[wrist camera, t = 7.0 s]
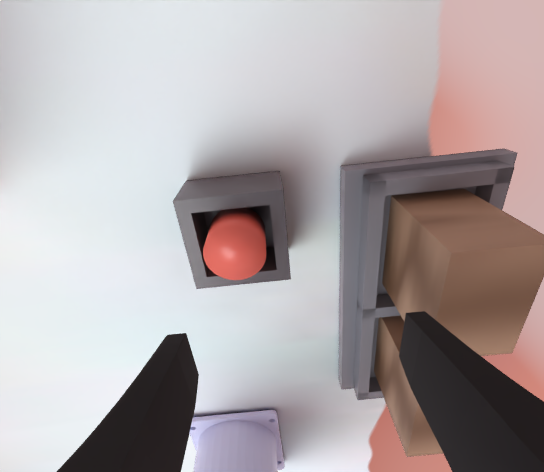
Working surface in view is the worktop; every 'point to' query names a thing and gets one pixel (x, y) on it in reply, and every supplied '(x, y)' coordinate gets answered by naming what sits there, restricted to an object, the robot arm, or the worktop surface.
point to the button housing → (229, 195)
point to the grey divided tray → (373, 234)
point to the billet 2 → (463, 266)
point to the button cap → (235, 244)
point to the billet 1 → (401, 391)
